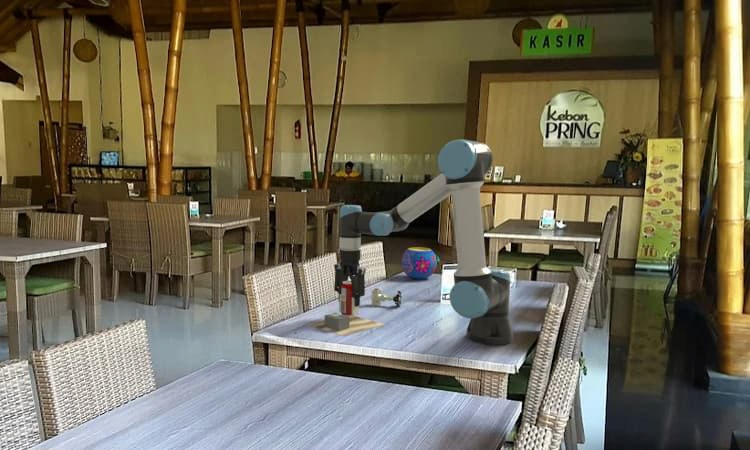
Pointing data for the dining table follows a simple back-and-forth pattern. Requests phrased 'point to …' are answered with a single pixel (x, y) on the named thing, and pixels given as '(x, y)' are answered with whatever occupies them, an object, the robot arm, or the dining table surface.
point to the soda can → (346, 298)
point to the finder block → (337, 321)
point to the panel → (350, 326)
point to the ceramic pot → (419, 262)
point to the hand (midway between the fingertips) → (348, 313)
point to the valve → (384, 298)
